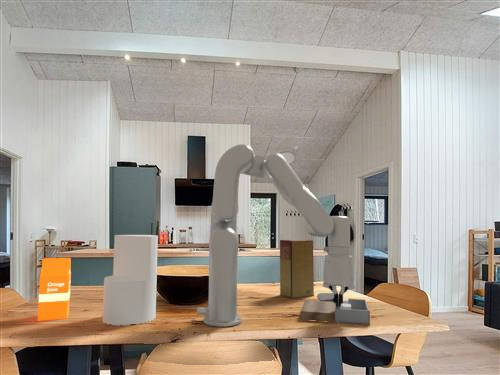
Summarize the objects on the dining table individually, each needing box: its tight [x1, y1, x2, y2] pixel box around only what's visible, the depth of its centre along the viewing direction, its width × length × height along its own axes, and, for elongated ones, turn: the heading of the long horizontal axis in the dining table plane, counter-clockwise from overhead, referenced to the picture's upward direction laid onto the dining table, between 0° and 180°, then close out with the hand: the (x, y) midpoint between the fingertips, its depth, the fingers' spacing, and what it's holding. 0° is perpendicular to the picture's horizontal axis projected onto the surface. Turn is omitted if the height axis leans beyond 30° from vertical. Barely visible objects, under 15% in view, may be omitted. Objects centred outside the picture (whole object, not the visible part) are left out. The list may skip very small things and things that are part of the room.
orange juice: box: [37, 257, 72, 322], centre depth 129 cm, size 8×9×20 cm
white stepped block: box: [102, 234, 159, 326], centre depth 128 cm, size 17×17×28 cm
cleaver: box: [316, 292, 339, 302], centre depth 158 cm, size 29×10×2 cm, turn 0°
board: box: [300, 300, 336, 323], centre depth 134 cm, size 12×18×3 cm, turn 167°
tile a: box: [340, 297, 349, 309], centre depth 137 cm, size 4×4×3 cm
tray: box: [335, 298, 371, 326], centre depth 131 cm, size 11×18×4 cm, turn 167°
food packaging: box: [279, 239, 315, 299], centre depth 169 cm, size 13×9×25 cm
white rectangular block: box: [342, 304, 351, 309], centre depth 127 cm, size 4×4×3 cm
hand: (338, 305), depth 128 cm, fingers closed
